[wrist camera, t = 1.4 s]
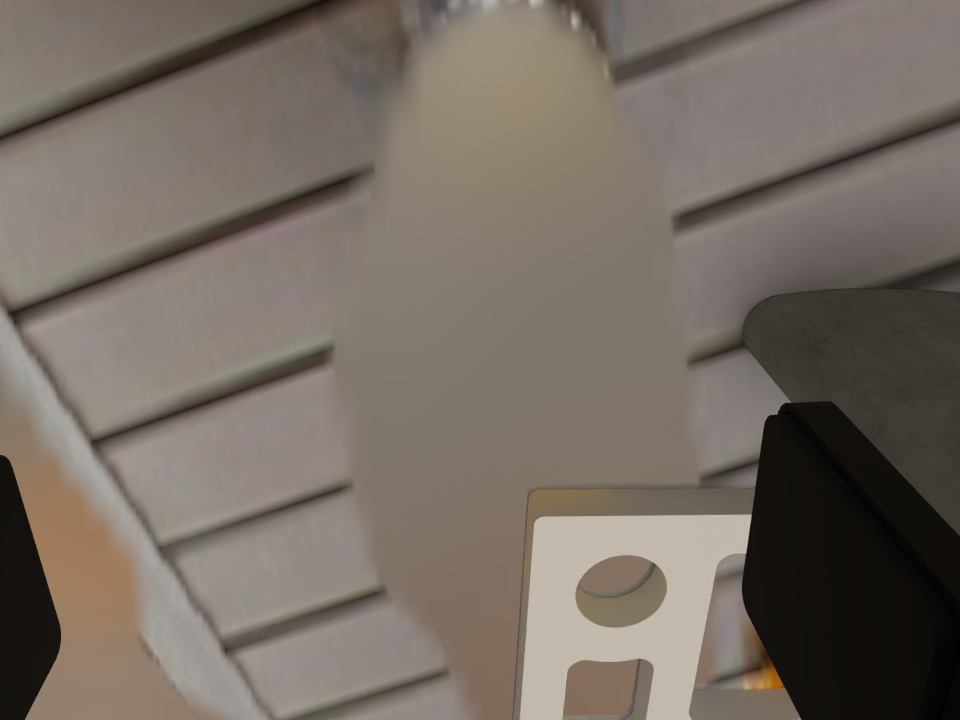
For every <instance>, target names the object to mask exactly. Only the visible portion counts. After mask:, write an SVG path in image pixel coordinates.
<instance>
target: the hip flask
mask: <svg viewBox="0 0 960 720" xmlns="http://www.w3.org/2000/svg"><path fill="white" fill-rule="evenodd" d="M743 340H744V343H745V346H746V347H747V349H748V350H749V351H750V353H751V354H752V355H753V356H754V357H755V359H756V360H757V361H758V362H759V364H760V365H761V366H762V367H763V368H764V370H765V371H766V372H767V373H768V374H769V376H770V377H771V378H772V379H773V381H774V382H775V383H776V384H777V385H778V387H779V388H780V389H781V390H782V391H783V393H784V394H785V395H786V396H787V397H788V399H789V400H790V401H791V402H792V403H797V402H816V401H831V402H833V403H834V404H836V405H837V407H838V408H839V409H840V410H841V411H842V412H843V413H844V414H845V415H846V416H847V417H848V418H849V419H850V420H851V421H852V422H853V423H854V425H855V426H856V427H857V428H858V429H859V430H860V431H861V432H862V433H863V434H864V435H865V436H866V437H867V438H868V439H869V440H870V441H871V443H872V444H873V445H874V446H875V447H876V448H877V449H878V450H879V451H880V452H881V453H882V454H883V455H884V456H885V457H886V458H887V459H888V461H889V462H890V463H891V464H892V465H893V466H894V467H895V468H896V469H897V470H898V471H899V472H900V473H901V474H902V475H903V476H904V477H905V479H906V480H907V481H908V482H909V483H910V484H911V485H912V486H913V487H914V488H915V489H916V490H917V491H918V492H919V493H920V494H921V495H922V497H923V498H924V499H925V500H926V501H927V502H928V503H929V504H930V505H931V506H932V507H933V508H934V509H935V510H936V511H937V512H938V513H939V515H940V516H941V517H942V518H943V519H944V520H945V521H946V522H947V523H948V524H949V525H950V526H951V527H952V528H953V529H954V530H955V531H956V533H957V534H958V535H959V536H960V293H954V292H942V291H930V290H914V289H888V288H865V289H836V290H822V291H811V292H801V293H793V294H785V295H778V296H773V297H770V298H768V299H766V300H764V301H762V302H761V303H759V304H758V305H757V306H756V307H755V308H753V310H752V311H751V312H750V313H749V315H748V317H747V318H746V320H745V323H744V326H743Z"/></svg>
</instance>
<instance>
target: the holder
mask: <svg viewBox="0 0 960 720" xmlns="http://www.w3.org/2000/svg"><path fill="white" fill-rule="evenodd" d="M754 494H755V488H719V489H699V487H698V483H570V484H569V483H566V484H565V483H564V484H533V485H531V486H530V487H529V489H528V493H527V508H526V522H525V537H524V552H523V566H522V580H521V596H520V610H519V626H518V639H517V655H516V668H515V684H514V685H515V686H514V699H513V712H512V720H801V718H800V716H799V714H798V712H797V710H796V709H795V707H794V705H793V703H792V701H791V699H790V697H789V695H788V693H787V691H786V689H785V687H784V688H780V689H746V690H707V688H708V686H709V683H698V684H694V682H695V677H696V672H697V666H698V661H699V656H700V651H701V645H702V640H703V635H704V630H705V624H706V619H707V614H708V609H709V603H710V598H711V593H712V588H713V582H714V577H715V572H716V567H717V565H718V563H719V562H720V561H721V560H722V559H723V558H724V557H726V556H728V555H731V554H737V553H746V552H747V544H748V537H749V530H750V523H751V516H752V509H753V502H754ZM619 555H635V556H640V557H643V558H646V559H648V560H650V561H652V562H651V565H650V567H649V568H648V570H647V571H646V573H645V574H644V575H643V576H642V577H641V578H640V579H639V580H637V581H636V582H634V583H633V584H631V585H629V586H627V587H624V588H622V589H618V590H613V591H597V590H592V589H589V588H587V587H584V586H583V585H581V584H579V580H580V579H581V577H582V576H583V574H584V573H585V572H586V571H587V570H588V569H589V568H591V567H592V566H593V565H595V564H596V563H598V562H600V561H602V560H604V559H607V558H609V557H614V556H619ZM632 659H638V660H637V667H636V674H635V680H634V688H633V694H632V700H631V705H630V707H629V708H628V709H627V710H626V711H624V712H623V713H620V714H615V715H578V716H563V707H564V697H565V688H566V679H567V671H568V669H569V668H570V666H571V665H572V664H574V663H576V662H578V661H581V660H593V661H602V662H617V661H626V660H632Z"/></svg>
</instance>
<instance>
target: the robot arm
mask: <svg viewBox="0 0 960 720" xmlns="http://www.w3.org/2000/svg"><path fill="white" fill-rule="evenodd" d="M742 595H743V601H744V605H745V609H746V611H747V614H748V616H749V618H750V620H751V622H752V624H753V626H754V628H755V630H756V632H757V634H758V635H759V637H760V639H761V641H762V643H763V645H764V647H765V649H766V651H767V653H768V655H769V657H770V659H771V661H772V663H773V665H774V667H775V669H776V671H777V673H778V675H779V677H780V679H781V681H782V683H783V685H784V687H785V689H786V691H787V693H788V695H789V697H790V699H791V701H792V703H793V705H794V707H795V709H796V710H797V712H798V714H799V716H800V718H801V720H960V536H959V535H958V534H957V533H956V531H955V530H954V529H953V528H952V527H951V526H950V525H949V524H948V523H947V522H946V521H945V520H944V519H943V518H942V517H941V516H940V515H939V513H938V512H937V511H936V510H935V509H934V508H933V507H932V506H931V505H930V504H929V503H928V502H927V501H926V500H925V499H924V498H923V497H922V495H921V494H920V493H919V492H918V491H917V490H916V489H915V488H914V487H913V486H912V485H911V484H910V483H909V482H908V481H907V480H906V479H905V477H904V476H903V475H902V474H901V473H900V472H899V471H898V470H897V469H896V468H895V467H894V466H893V465H892V464H891V463H890V462H889V461H888V459H887V458H886V457H885V456H884V455H883V454H882V453H881V452H880V451H879V450H878V449H877V448H876V447H875V446H874V445H873V444H872V443H871V441H870V440H869V439H868V438H867V437H866V436H865V435H864V434H863V433H862V432H861V431H860V430H859V429H858V428H857V427H856V426H855V425H854V423H853V422H852V421H851V420H850V419H849V418H848V417H847V416H846V415H845V414H844V413H843V412H842V411H841V410H840V409H839V408H838V407H837V405H836V404H834V403H833V402H831V401H816V402H797V403H785V404H783V405H782V406H781V408H780V409H779V411H778V415H770V416H768V417H767V419H766V421H765V425H764V430H763V437H762V444H761V452H760V459H759V466H758V473H757V480H756V487H755V494H754V502H753V509H752V516H751V523H750V530H749V537H748V544H747V552H746V559H745V566H744V573H743V580H742ZM60 643H61V629H60V624H59V620H58V617H57V614H56V610H55V607H54V604H53V600H52V597H51V594H50V591H49V587H48V584H47V581H46V577H45V574H44V571H43V567H42V564H41V561H40V558H39V554H38V551H37V547H36V544H35V541H34V538H33V534H32V531H31V528H30V524H29V521H28V518H27V515H26V511H25V508H24V504H23V501H22V498H21V495H20V491H19V488H18V484H17V481H16V478H15V474H14V471H13V468H12V466H11V463H10V461H9V460H8V459H7V457H5V456H3V455H0V720H25V718H26V716H27V714H28V712H29V710H30V708H31V706H32V704H33V702H34V701H35V699H36V697H37V695H38V693H39V691H40V689H41V687H42V685H43V683H44V681H45V679H46V677H47V675H48V674H49V672H50V670H51V668H52V666H53V664H54V662H55V660H56V658H57V655H58V653H59V649H60Z"/></svg>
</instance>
